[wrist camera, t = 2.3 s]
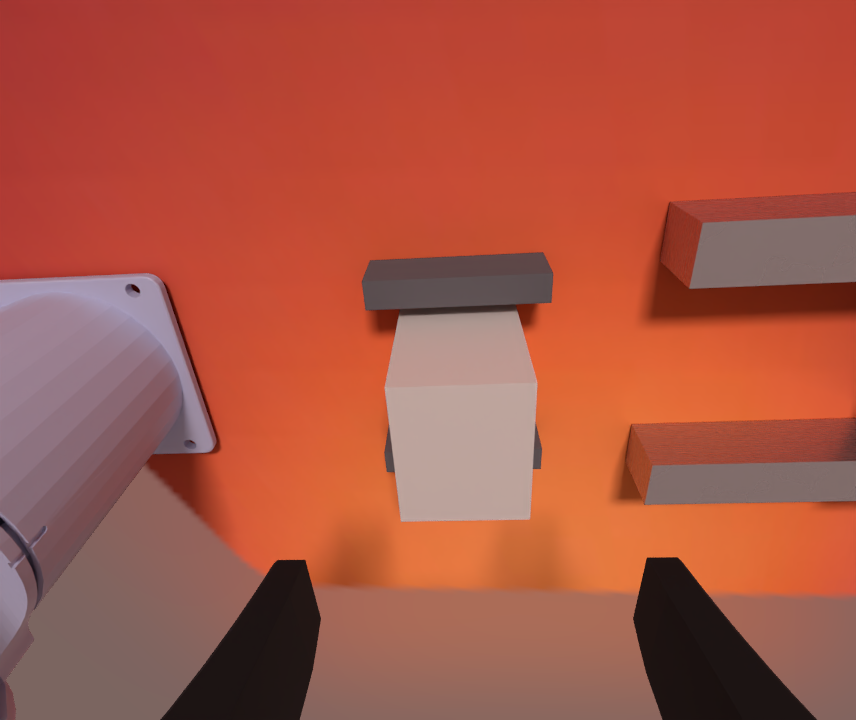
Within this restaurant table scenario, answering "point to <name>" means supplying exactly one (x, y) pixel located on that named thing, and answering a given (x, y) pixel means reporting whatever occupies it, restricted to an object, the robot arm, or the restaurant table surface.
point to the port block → (752, 440)
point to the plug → (462, 414)
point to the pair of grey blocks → (458, 291)
